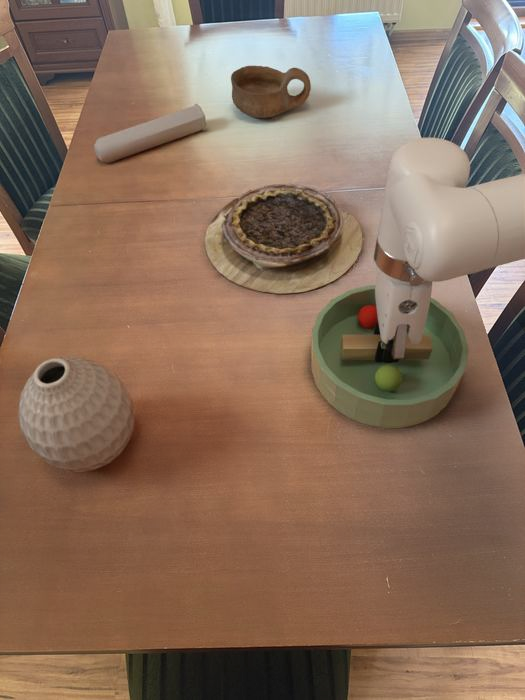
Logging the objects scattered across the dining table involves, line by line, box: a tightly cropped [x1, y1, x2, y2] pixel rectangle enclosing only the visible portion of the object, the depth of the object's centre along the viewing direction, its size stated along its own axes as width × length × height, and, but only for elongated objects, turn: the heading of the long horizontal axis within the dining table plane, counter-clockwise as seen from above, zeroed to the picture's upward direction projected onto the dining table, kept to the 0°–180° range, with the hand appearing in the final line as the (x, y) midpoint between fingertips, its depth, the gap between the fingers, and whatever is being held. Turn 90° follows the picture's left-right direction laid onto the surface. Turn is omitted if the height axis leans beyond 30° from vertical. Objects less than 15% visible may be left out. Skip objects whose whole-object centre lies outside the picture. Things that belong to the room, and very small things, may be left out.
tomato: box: [358, 305, 379, 329], centre depth 76 cm, size 4×4×4 cm
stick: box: [341, 335, 433, 359], centre depth 71 cm, size 2×12×2 cm, turn 88°
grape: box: [375, 365, 402, 391], centre depth 69 cm, size 4×4×4 cm
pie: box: [204, 183, 363, 295], centre depth 90 cm, size 28×27×5 cm
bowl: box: [230, 65, 312, 119], centre depth 116 cm, size 18×14×10 cm
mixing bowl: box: [310, 284, 470, 429], centre depth 71 cm, size 21×21×6 cm
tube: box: [93, 103, 207, 164], centre depth 111 cm, size 5×5×25 cm
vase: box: [18, 356, 135, 473], centre depth 61 cm, size 13×13×17 cm
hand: (385, 350), depth 72 cm, fingers closed on stick, 2 cm apart
